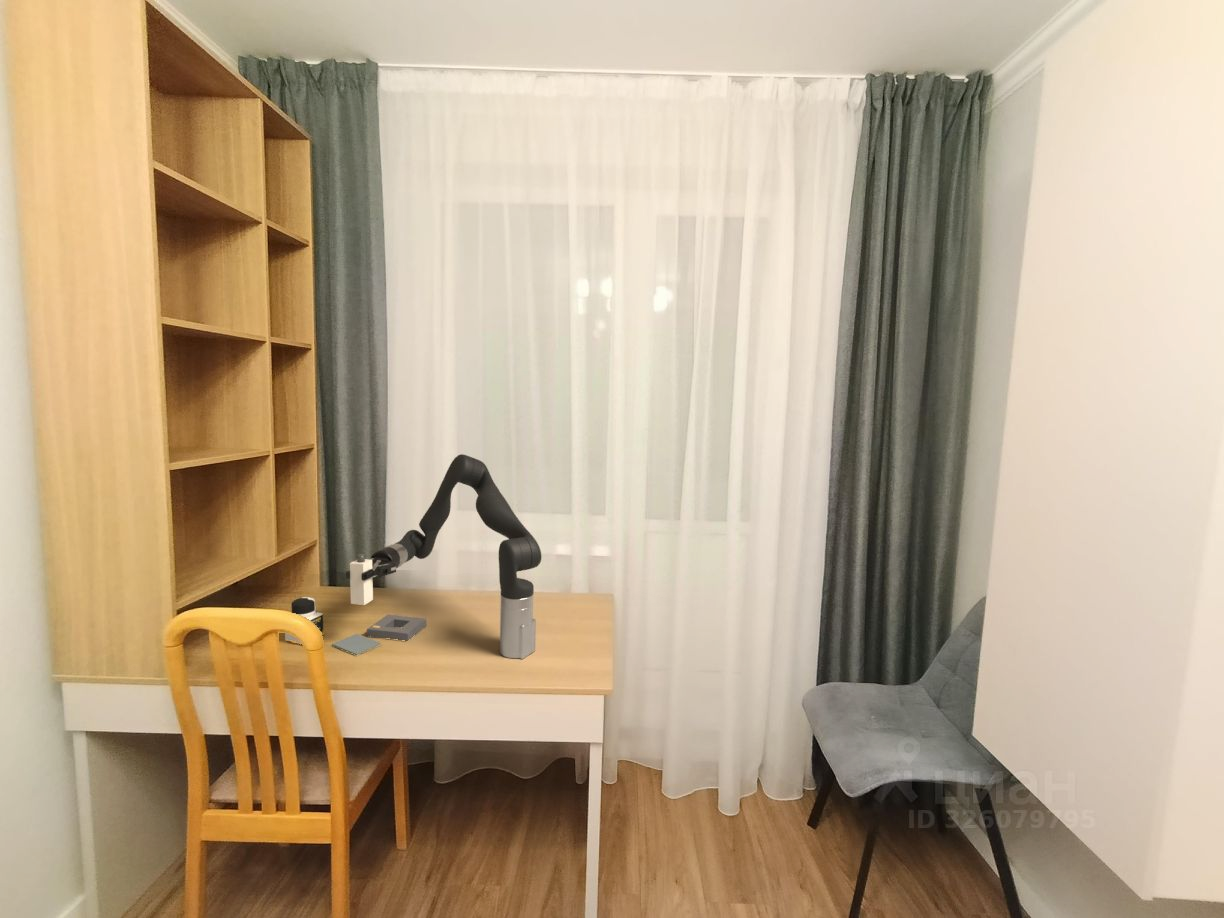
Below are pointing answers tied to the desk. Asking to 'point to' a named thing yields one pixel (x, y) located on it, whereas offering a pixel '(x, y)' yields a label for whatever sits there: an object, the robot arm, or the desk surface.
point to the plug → (360, 581)
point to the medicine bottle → (306, 613)
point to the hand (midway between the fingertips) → (355, 576)
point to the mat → (356, 644)
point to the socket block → (387, 630)
